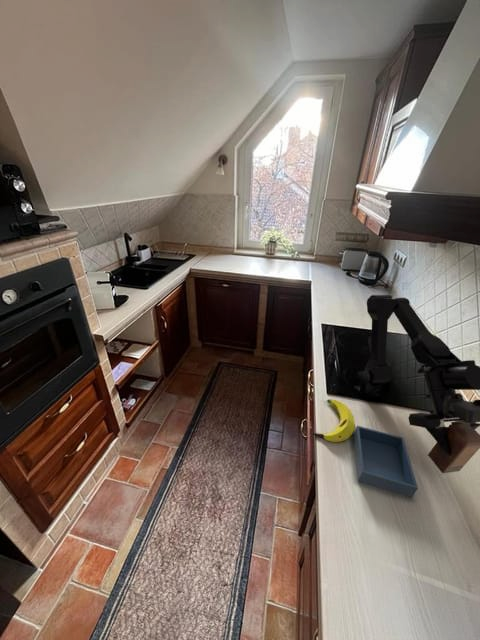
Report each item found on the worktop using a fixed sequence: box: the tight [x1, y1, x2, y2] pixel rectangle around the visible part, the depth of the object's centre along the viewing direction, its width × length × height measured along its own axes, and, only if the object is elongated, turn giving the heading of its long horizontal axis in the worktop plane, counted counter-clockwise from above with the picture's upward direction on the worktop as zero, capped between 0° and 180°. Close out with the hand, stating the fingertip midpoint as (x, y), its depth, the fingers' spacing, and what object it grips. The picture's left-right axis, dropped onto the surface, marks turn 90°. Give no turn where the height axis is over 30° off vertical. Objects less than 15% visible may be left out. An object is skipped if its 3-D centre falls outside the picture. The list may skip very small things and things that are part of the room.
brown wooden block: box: [427, 423, 480, 474], centre depth 64 cm, size 5×5×13 cm
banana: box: [312, 399, 356, 443], centre depth 86 cm, size 5×17×15 cm
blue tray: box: [352, 425, 419, 499], centre depth 73 cm, size 15×13×5 cm
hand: (458, 454), depth 63 cm, fingers closed on brown wooden block, 5 cm apart
